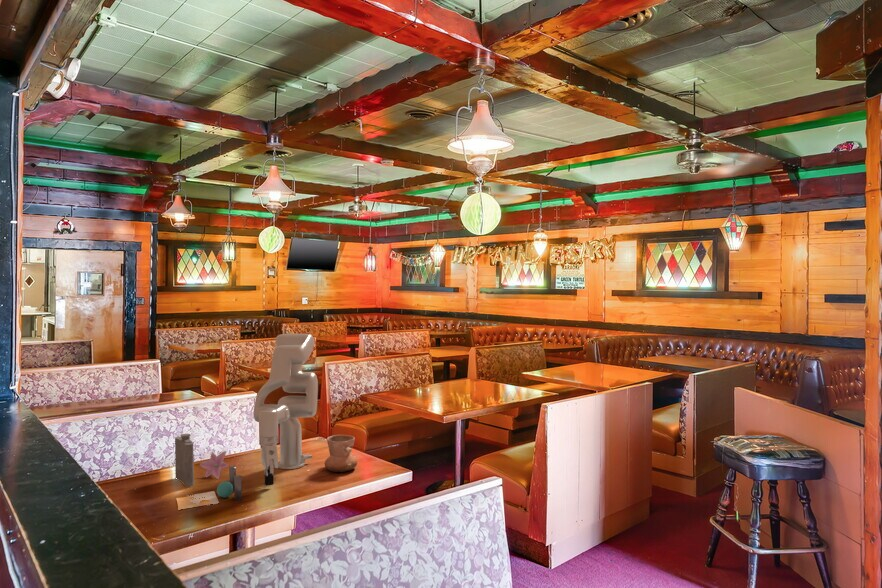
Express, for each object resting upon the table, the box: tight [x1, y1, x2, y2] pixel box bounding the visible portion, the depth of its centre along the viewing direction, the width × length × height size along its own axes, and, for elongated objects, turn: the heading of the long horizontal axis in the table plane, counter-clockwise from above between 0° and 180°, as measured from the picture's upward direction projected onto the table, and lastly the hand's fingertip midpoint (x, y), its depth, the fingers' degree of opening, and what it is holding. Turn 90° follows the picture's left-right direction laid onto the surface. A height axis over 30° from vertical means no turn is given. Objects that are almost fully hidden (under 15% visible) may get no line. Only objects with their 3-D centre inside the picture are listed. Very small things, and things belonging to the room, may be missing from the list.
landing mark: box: [187, 490, 220, 506], centre depth 217 cm, size 14×14×1 cm
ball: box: [216, 480, 234, 498], centre depth 220 cm, size 6×6×6 cm
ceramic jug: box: [324, 434, 358, 473], centre depth 253 cm, size 18×14×14 cm
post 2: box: [234, 474, 243, 502], centre depth 218 cm, size 3×3×9 cm
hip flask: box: [174, 433, 195, 488], centre depth 237 cm, size 16×4×20 cm, turn 42°
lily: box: [199, 450, 230, 480], centre depth 246 cm, size 12×12×10 cm
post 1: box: [228, 465, 237, 491], centre depth 229 cm, size 3×3×9 cm
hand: (269, 484), depth 230 cm, fingers closed
